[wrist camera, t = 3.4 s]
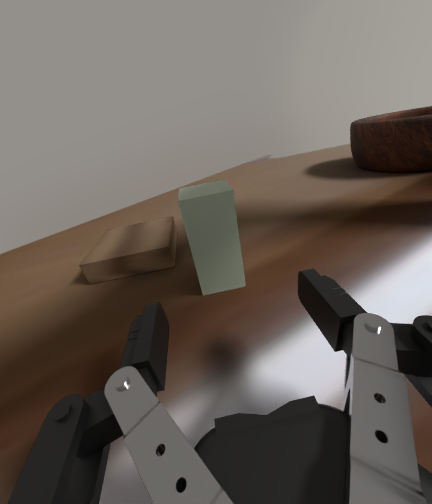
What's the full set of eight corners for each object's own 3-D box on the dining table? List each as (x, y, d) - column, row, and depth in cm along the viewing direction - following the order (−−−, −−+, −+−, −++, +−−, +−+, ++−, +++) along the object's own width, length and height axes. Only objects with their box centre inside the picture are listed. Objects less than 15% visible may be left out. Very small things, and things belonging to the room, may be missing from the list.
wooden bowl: (433, 183, 37) (455, 114, 32) (323, 169, 58) (326, 126, 53) (521, 153, 43) (552, 90, 38) (391, 150, 64) (400, 109, 59)
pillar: (236, 263, 26) (224, 179, 21) (245, 286, 22) (233, 189, 17) (200, 271, 26) (179, 188, 21) (202, 295, 22) (177, 201, 17)
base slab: (177, 232, 37) (172, 216, 36) (174, 266, 28) (168, 246, 26) (114, 245, 37) (107, 229, 36) (90, 284, 28) (79, 265, 26)
